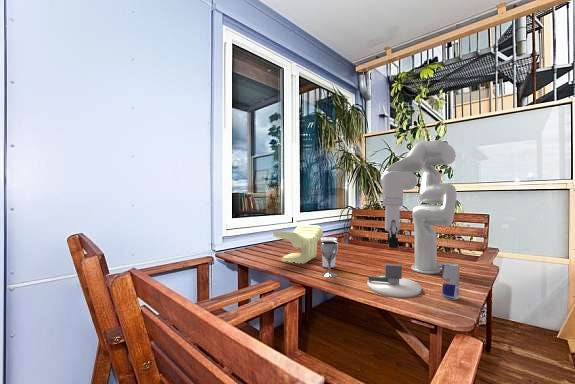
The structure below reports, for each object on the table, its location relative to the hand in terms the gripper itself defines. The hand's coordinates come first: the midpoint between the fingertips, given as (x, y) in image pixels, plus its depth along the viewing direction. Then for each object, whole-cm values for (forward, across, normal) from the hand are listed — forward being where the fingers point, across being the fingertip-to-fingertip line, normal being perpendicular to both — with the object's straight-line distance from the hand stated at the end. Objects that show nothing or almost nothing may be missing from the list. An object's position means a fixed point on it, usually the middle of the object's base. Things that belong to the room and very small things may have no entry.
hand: (392, 245), depth 111 cm
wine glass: (+17, -10, -27) cm, 33 cm away
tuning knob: (+15, -1, -3) cm, 15 cm away
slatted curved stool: (+17, -33, -47) cm, 60 cm away
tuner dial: (+17, -1, 0) cm, 17 cm away
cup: (+17, -24, -29) cm, 41 cm away
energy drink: (+17, +4, +20) cm, 26 cm away
